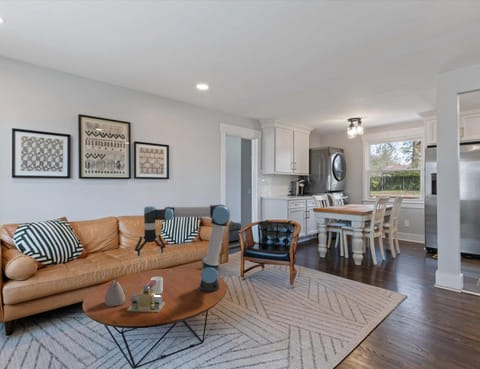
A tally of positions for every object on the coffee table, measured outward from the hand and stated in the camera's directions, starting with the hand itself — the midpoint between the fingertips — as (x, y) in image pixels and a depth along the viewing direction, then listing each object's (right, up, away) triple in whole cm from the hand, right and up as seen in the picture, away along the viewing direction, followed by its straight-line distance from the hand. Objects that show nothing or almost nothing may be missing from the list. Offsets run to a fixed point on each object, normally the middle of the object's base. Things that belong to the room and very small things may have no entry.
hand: (150, 259), depth 192 cm
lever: (+2, -17, -9) cm, 19 cm away
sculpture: (-21, -27, -8) cm, 35 cm away
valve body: (+2, -27, -14) cm, 30 cm away
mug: (0, -27, +7) cm, 28 cm away
